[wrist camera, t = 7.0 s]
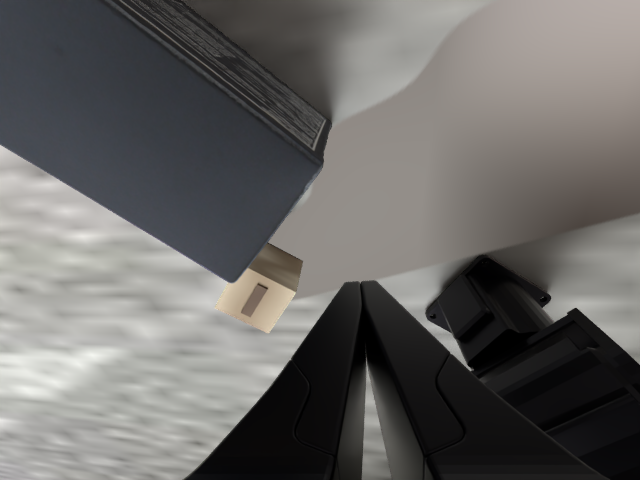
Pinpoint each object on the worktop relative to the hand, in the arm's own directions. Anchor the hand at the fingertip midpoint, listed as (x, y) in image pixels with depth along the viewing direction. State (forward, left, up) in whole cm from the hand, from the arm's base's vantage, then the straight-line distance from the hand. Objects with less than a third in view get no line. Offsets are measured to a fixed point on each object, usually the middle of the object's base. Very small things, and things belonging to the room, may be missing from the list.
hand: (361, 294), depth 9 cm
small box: (+8, 0, -13) cm, 16 cm away
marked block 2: (+1, +9, -13) cm, 16 cm away
